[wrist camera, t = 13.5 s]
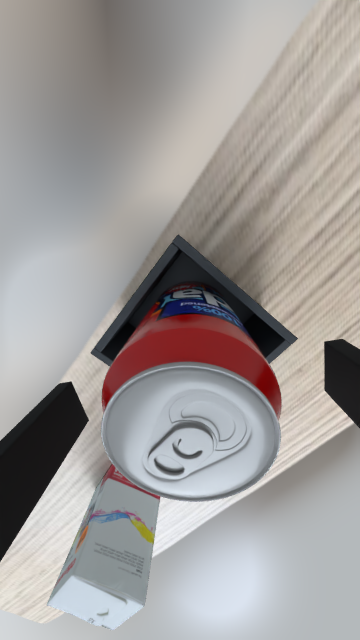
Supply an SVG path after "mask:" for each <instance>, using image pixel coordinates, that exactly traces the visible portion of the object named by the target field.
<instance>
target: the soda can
mask: <svg viewBox="0 0 360 640" xmlns="http://www.w3.org/2000/svg"><path fill="white" fill-rule="evenodd" d="M102 407H103V412H104V414H103V418H102V423H101V436H102V442H103V445H104V448H105V451H106V453H107V455H108V457H109V459H110V461H111V462H112V463H113V465H114V466H115V467H116V469H117V470H118V471H119V472H120V473H121V474H122V475H123V476H124V477H125V478H127V479H128V480H129V481H131V482H132V483H133V484H135V485H137V486H138V487H140V488H142V489H144V490H146V491H148V492H150V493H153V494H155V495H158V496H161V497H165V498H168V499H173V500H179V501H190V502H201V501H212V500H218V499H222V498H226V497H229V496H232V495H235V494H238V493H240V492H242V491H244V490H246V489H248V488H249V487H251V486H252V485H254V484H255V483H257V482H258V481H259V480H260V479H261V478H262V477H263V476H264V475H265V474H266V473H267V472H268V471H269V469H270V468H271V467H272V465H273V463H274V461H275V459H276V457H277V455H278V452H279V448H280V442H281V432H280V425H279V418H280V414H281V393H280V388H279V385H278V382H277V379H276V376H275V374H274V372H273V370H272V368H271V366H270V365H269V363H268V361H267V360H266V358H265V357H264V355H263V354H262V352H261V351H260V349H259V348H258V346H257V345H256V343H255V342H254V340H253V339H252V337H251V336H250V335H249V333H248V332H247V330H246V329H245V327H244V326H243V324H242V323H241V321H240V320H239V318H238V317H237V315H236V314H235V312H234V311H233V309H232V308H231V306H230V305H229V304H228V302H227V301H226V299H225V298H224V297H223V295H222V294H221V293H220V292H219V291H218V290H217V289H215V288H214V287H212V286H210V285H208V284H206V283H203V282H198V281H185V282H180V283H177V284H175V285H173V286H171V287H169V288H168V289H167V290H165V291H164V292H163V293H162V294H161V295H160V297H159V298H158V299H157V301H156V302H155V303H154V305H153V306H152V307H151V309H150V310H149V312H148V313H147V314H146V316H145V317H144V319H143V320H142V321H141V323H140V324H139V325H138V327H137V328H136V330H135V331H134V332H133V334H132V335H131V337H130V338H129V339H128V341H127V342H126V343H125V345H124V346H123V348H122V349H121V350H120V352H119V353H118V355H117V356H116V358H115V359H114V361H113V362H112V364H111V366H110V368H109V370H108V372H107V375H106V377H105V380H104V384H103V389H102Z"/></svg>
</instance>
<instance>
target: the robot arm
mask: <svg viewBox="0 0 360 640" xmlns="http://www.w3.org/2000/svg"><path fill="white" fill-rule="evenodd" d="M324 359H325V391H326V392H327V394H328V395H329V396H330V397H331V398H332V399H333V400H334V401H335V402H336V403H337V404H338V405H339V406H340V408H341V409H342V410H343V411H344V412H345V413H346V414H347V415H348V416H349V417H350V418H351V419H352V420H353V422H354V423H355V424H356V425H357V426H358V427H359V428H360V349H358V348H357V347H355V346H353V345H352V344H350V343H348V342H347V341H345V340H343V339H338V340H332V341H326V342H324ZM88 421H89V420H88V417H87V415H86V413H85V411H84V409H83V406H82V404H81V402H80V400H79V398H78V395H77V393H76V391H75V389H74V386H73V384H72V382H66V383H60V384H58V385H57V386H56V387H55V388H54V389H53V390H52V391H51V392H50V393H49V394H48V395H47V396H46V397H45V398H44V399H43V400H42V401H41V402H40V403H39V404H38V405H37V406H36V407H35V408H34V409H33V410H32V411H30V412H29V414H27V415H26V416H25V417H24V418H23V419H22V420H21V421H20V422H19V423H18V424H17V425H16V426H15V427H14V428H13V429H12V430H11V431H10V432H9V433H8V434H7V435H6V436H5V437H4V438H3V439H2V440H1V441H0V561H1V560H2V558H3V557H4V555H5V553H6V552H7V550H8V549H9V547H10V546H11V544H12V542H13V541H14V539H15V538H16V536H17V534H18V533H19V531H20V530H21V528H22V526H23V525H24V523H25V522H26V520H27V518H28V517H29V515H30V514H31V512H32V510H33V509H34V507H35V506H36V504H37V502H38V501H39V499H40V498H41V496H42V494H43V493H44V491H45V490H46V488H47V486H48V485H49V483H50V482H51V480H52V478H53V477H54V475H55V474H56V472H57V470H58V469H59V467H60V466H61V464H62V462H63V461H64V459H65V458H66V456H67V454H68V453H69V451H70V450H71V448H72V446H73V445H74V443H75V442H76V440H77V438H78V437H79V435H80V434H81V432H82V431H83V429H84V427H85V426H86V424H87V423H88Z"/></svg>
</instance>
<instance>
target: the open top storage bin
mask: <svg viewBox="0 0 360 640" xmlns="http://www.w3.org/2000/svg"><path fill="white" fill-rule="evenodd" d="M185 281H198V282H203V283H206V284H208V285H210V286H212V287H214V288H215V289H217V290H218V291H219V292H220V293H221V294H222V295H223V297H224V298H225V299H226V301H227V302H228V304H229V305H230V306H231V308H232V309H233V311H234V312H235V314H236V315H237V317H238V318H239V320H240V321H241V323H242V324H243V326H244V327H245V329H246V330H247V332H248V333H249V335H250V336H251V337H252V339H253V340H254V342H255V343H256V345H257V346H258V348H259V349H260V351H261V352H262V354H263V355H264V357H265V358H266V360H267V361H268V363H269V364H270V363H271V362H272V361H273V360H274V359H275V358H277V357H278V356H279V355H280V354H281V353H282V352H283V351H284V350H286V349H287V348H288V347H289V346H290V345H291V344H293V343H294V342H295V341H296V340H297V339H298V338H297V337H296V336H294V335H293V334H292V333H291V332H290V331H289V330H287V329H286V328H285V327H284V326H283V325H282V324H281V323H279V322H278V321H277V320H276V319H275V318H274V317H273V316H271V315H270V314H269V313H268V312H267V311H266V310H264V309H263V308H262V307H261V306H260V305H259V304H258V303H256V302H255V301H254V300H253V299H252V298H251V297H250V296H248V295H247V294H246V293H245V292H244V291H243V290H242V289H240V288H239V287H238V286H237V285H236V284H235V283H233V282H232V281H231V280H230V279H229V278H228V277H227V276H225V275H224V274H223V273H222V272H221V271H220V270H219V269H217V268H216V267H215V266H214V265H213V264H212V263H211V262H209V261H208V260H207V259H206V258H205V257H204V256H202V255H201V254H200V253H199V252H198V251H197V250H196V249H194V248H193V247H192V246H191V245H190V244H189V243H188V242H186V241H185V240H184V239H183V238H182V237H181V236H179V235H177V236H176V238H175V239H174V240H173V242H172V243H171V244H170V246H169V247H168V248H167V250H166V251H165V253H164V254H163V255H162V257H161V258H160V259H159V261H158V262H157V263H156V265H155V266H154V267H153V269H152V270H151V271H150V273H149V274H148V276H147V277H146V278H145V280H144V281H143V282H142V284H141V285H140V286H139V288H138V289H137V290H136V292H135V293H134V294H133V296H132V297H131V299H130V300H129V301H128V303H127V304H126V305H125V307H124V308H123V309H122V311H121V312H120V313H119V315H118V316H117V318H116V319H115V320H114V322H113V323H112V324H111V326H110V327H109V328H108V330H107V331H106V332H105V334H104V335H103V336H102V338H101V339H100V341H99V342H98V343H97V345H96V346H95V348H94V349H93V350H92V351H91V354H92V355H94V356H95V357H97V358H98V359H100V360H101V361H103V362H104V363H105V364H107V365H108V366H111V364H112V362H113V361H114V359H115V358H116V356H117V355H118V353H119V352H120V350H121V349H122V348H123V346H124V345H125V343H126V342H127V341H128V339H129V338H130V337H131V335H132V334H133V332H134V331H135V330H136V328H137V327H138V325H139V324H140V323H141V321H142V320H143V319H144V317H145V316H146V314H147V313H148V312H149V310H150V309H151V307H152V306H153V305H154V303H155V302H156V301H157V299H158V298H159V297H160V295H161V294H162V293H163V292H164V291H165V290H167V289H168V288H169V287H171V286H173V285H175V284H177V283H180V282H185Z"/></svg>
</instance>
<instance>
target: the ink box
mask: <svg viewBox="0 0 360 640" xmlns="http://www.w3.org/2000/svg"><path fill="white" fill-rule="evenodd" d="M159 502H160V496H158V495H155V494H153V493H150V492H148V491H146V490H144V489H142V488H140V487H138V486H137V485H135V484H133V483H132V482H131V481H129V480H128V479H127V478H125V477H124V476H123V475H122V474H121V473H120V472H119V471H118V470H117V469H116V467H115V466H114V465H113V464H112V465H111V467H110V468H109V470H108V471H107V473H106V474H105V476H104V477H103V479H102V480H101V482H100V483H99V485H98V486H97V488H96V490H95V492H94V494H93V497H92V499H91V502H90V504H89V506H88V509H87V511H86V514H85V516H84V518H83V521H82V523H81V525H80V528H79V530H78V533H77V535H76V537H75V540H74V542H73V544H72V547H71V549H70V552H69V554H68V556H67V558H66V561H65V563H64V566H63V568H62V570H61V573H60V575H59V577H58V580H57V582H56V584H55V587H54V589H53V591H52V594H51V596H50V598H49V601H48V603H47V605H48V606H51V607H54V608H56V609H59V610H62V611H64V612H67V613H69V614H72V615H74V616H77V617H79V618H81V619H83V620H85V621H87V622H89V623H91V624H93V625H96V626H103V627H105V628H108V629H111V630H114V629H115V628H116V627H118V626H119V625H121V624H122V623H123V622H124V621H125V620H127V619H128V618H130V617H131V616H132V615H134V614H135V613H136V612H138V611H139V610H140V609H141V608H143V607H144V605H145V600H146V594H147V587H148V579H149V573H150V565H151V559H152V551H153V544H154V537H155V530H156V523H157V516H158V509H159Z"/></svg>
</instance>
